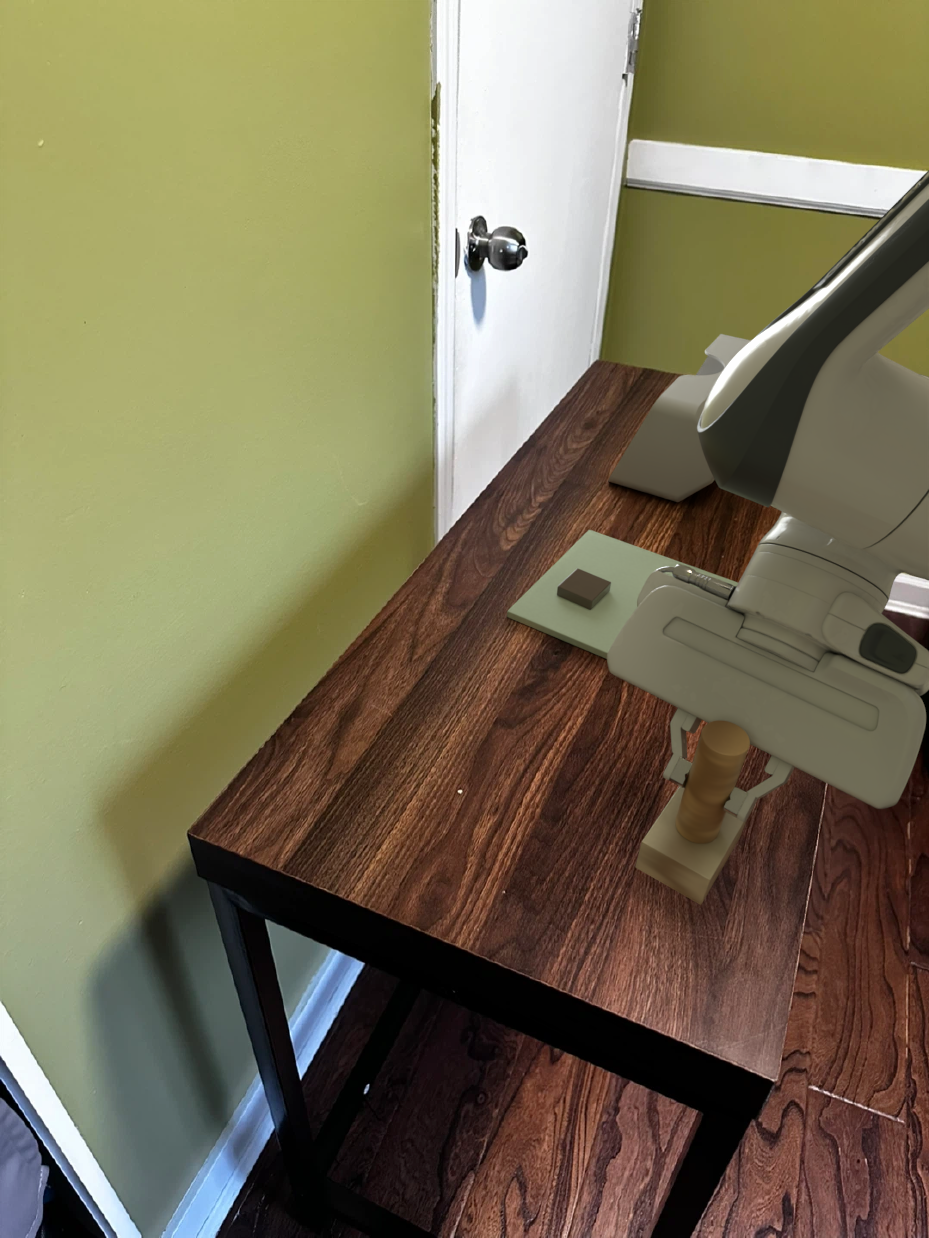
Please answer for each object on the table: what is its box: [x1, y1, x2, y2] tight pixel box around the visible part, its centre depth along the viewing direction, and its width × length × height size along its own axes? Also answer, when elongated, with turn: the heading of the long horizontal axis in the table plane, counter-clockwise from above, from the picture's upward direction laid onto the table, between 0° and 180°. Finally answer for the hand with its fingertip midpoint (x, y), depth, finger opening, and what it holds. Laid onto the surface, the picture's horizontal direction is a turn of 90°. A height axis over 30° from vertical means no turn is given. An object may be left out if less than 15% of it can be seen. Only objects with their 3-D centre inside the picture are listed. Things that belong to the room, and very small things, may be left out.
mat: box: [506, 529, 739, 660], centre depth 87 cm, size 20×18×1 cm
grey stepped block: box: [607, 333, 752, 503], centre depth 107 cm, size 25×16×12 cm, turn 150°
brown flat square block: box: [557, 568, 611, 610], centre depth 87 cm, size 4×4×1 cm
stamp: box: [634, 720, 751, 906], centre depth 57 cm, size 5×7×12 cm
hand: (703, 799), depth 57 cm, fingers closed on stamp, 3 cm apart
